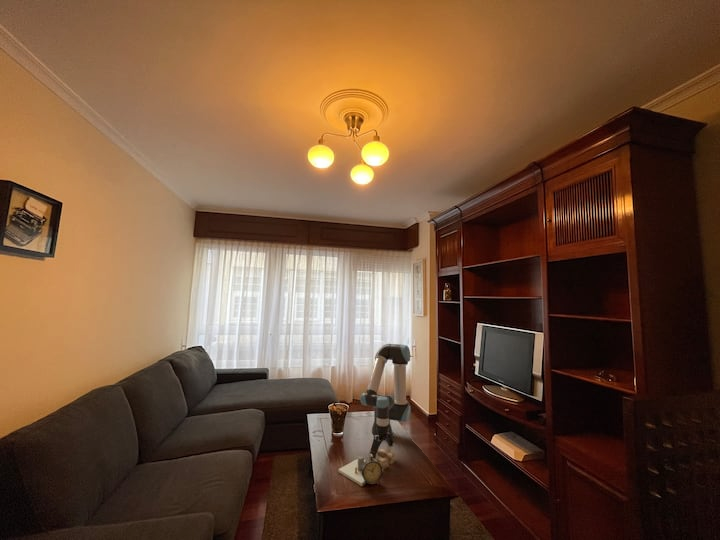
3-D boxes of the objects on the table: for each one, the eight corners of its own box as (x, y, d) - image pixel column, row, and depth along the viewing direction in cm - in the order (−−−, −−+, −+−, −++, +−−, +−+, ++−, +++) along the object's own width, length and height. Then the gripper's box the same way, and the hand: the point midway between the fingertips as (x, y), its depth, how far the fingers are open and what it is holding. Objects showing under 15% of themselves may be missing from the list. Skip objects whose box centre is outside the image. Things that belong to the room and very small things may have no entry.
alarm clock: (362, 488, 148) (363, 454, 150) (360, 481, 154) (360, 449, 155) (382, 485, 151) (383, 452, 153) (379, 479, 156) (380, 447, 158)
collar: (369, 461, 173) (369, 454, 174) (380, 455, 181) (380, 448, 182) (383, 469, 166) (383, 461, 166) (395, 461, 174) (395, 454, 174)
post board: (360, 459, 175) (360, 446, 176) (383, 472, 163) (383, 457, 164) (338, 472, 162) (338, 458, 163) (361, 486, 150) (361, 471, 151)
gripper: (389, 417, 187) (389, 451, 185) (364, 428, 169) (363, 466, 167) (399, 420, 182) (399, 456, 180) (374, 432, 164) (373, 472, 162)
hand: (382, 461), depth 173 cm, fingers open, 13 cm apart
